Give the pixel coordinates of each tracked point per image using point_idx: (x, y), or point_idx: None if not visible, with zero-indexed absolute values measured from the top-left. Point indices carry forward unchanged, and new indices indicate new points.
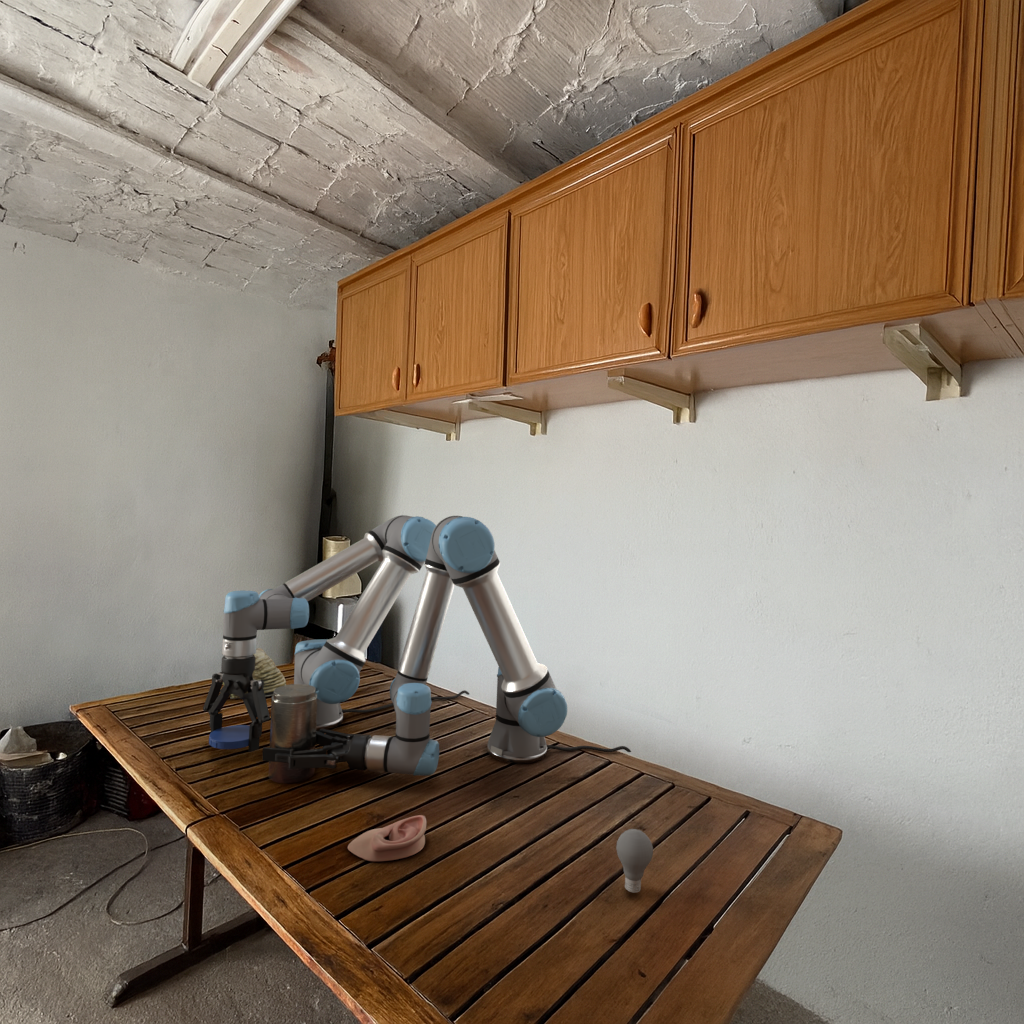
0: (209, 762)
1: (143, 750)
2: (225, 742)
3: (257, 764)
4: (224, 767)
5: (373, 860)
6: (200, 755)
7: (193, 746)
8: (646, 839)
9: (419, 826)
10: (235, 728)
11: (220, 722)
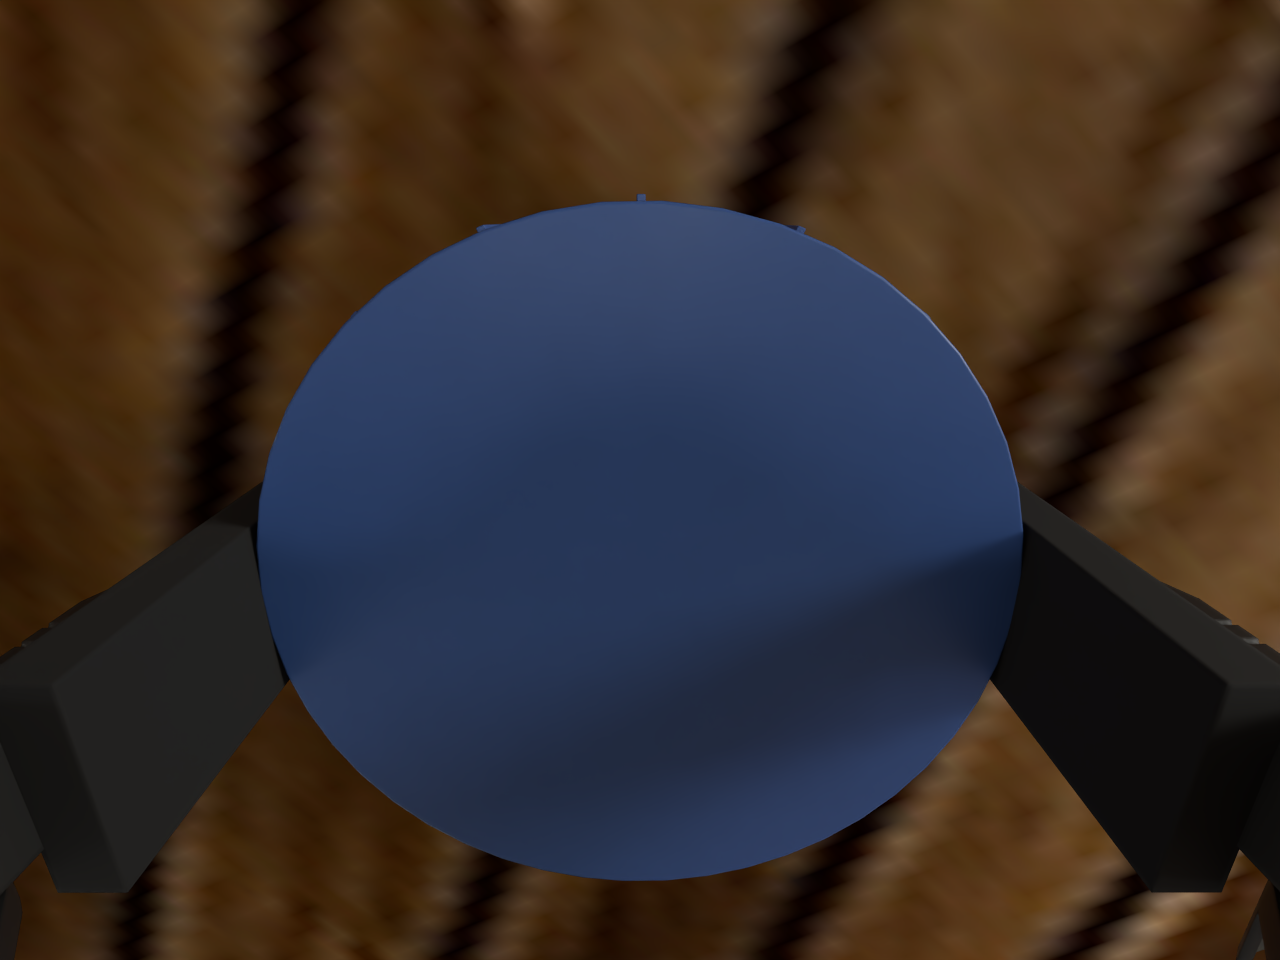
0: (719, 187)
1: None
2: (463, 244)
3: (208, 398)
4: (447, 156)
5: None
6: (963, 297)
7: (1204, 451)
8: None
9: None
10: (774, 737)
11: (1053, 719)
